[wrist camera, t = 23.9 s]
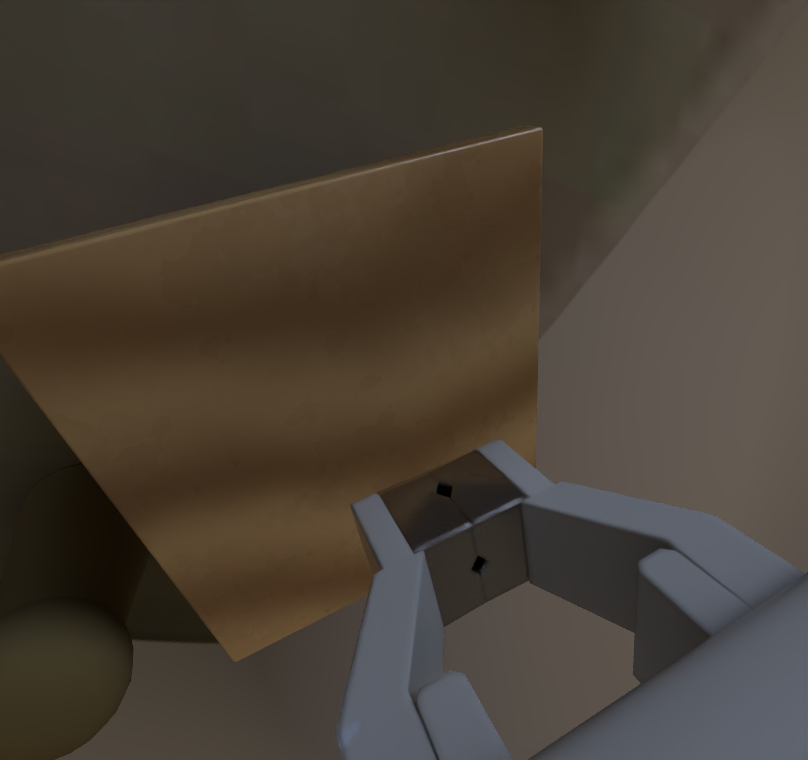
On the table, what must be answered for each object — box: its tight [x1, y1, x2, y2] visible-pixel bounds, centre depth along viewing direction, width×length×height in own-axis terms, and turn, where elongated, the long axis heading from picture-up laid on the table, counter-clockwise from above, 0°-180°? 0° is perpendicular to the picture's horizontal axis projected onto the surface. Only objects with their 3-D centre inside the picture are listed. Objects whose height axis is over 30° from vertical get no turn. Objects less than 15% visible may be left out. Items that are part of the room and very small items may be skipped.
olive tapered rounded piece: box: [0, 464, 150, 760], centre depth 19 cm, size 6×6×11 cm
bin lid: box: [0, 126, 543, 662], centre depth 15 cm, size 15×13×1 cm
